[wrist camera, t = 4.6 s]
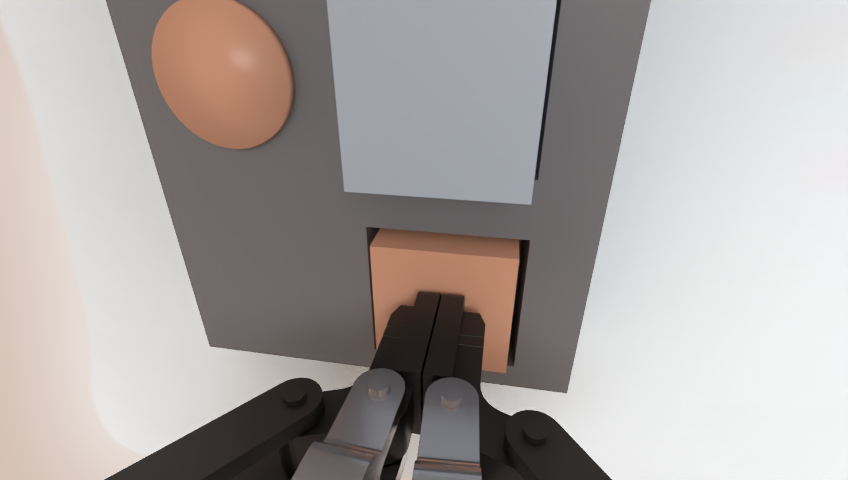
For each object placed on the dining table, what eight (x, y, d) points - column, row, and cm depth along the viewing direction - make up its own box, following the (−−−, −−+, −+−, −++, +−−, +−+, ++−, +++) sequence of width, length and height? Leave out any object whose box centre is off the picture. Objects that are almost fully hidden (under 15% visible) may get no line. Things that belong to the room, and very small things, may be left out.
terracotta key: (394, 204, 16) (369, 246, 14) (518, 213, 16) (519, 259, 13) (397, 303, 19) (377, 356, 16) (507, 315, 18) (505, 373, 15)
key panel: (101, -393, 11) (-84, -567, 8) (707, -486, 9) (827, -782, 6) (254, 295, 21) (204, 353, 18) (557, 328, 19) (568, 402, 16)
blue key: (370, -17, 12) (324, -20, 9) (548, -17, 11) (559, -22, 8) (378, 152, 14) (344, 191, 11) (527, 160, 13) (531, 204, 10)
